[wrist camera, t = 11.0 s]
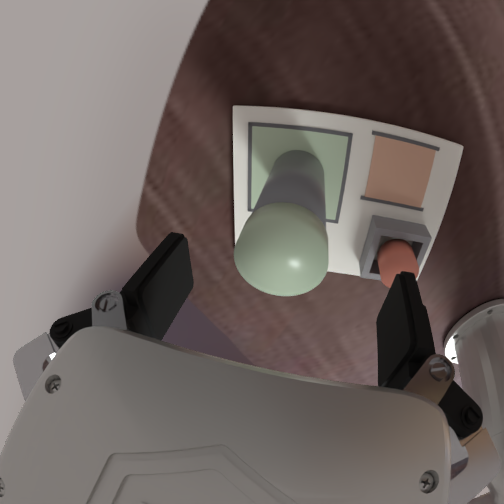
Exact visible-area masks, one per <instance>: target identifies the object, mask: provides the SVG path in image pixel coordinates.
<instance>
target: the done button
mask: <svg viewBox="0 0 504 504" xmlns="http://www.w3.org/2000/svg"><path fill="white" fill-rule="evenodd" d="M377 261H378V266H379V271H380V277H381V280H382V282H383V284H384V285H385V286H387V287H389V288H391V285H392V283H393V281H394V278H395V276H396V274H400V272H401V271H406V272H412V273H414V274H415V277H416V278H417V277H418V274H419V266H418V263H417V260H416V257H415V255H414V252H413V249H412V247H411V245H410V244H409V243H408V242H407V241H405V240H403V239H391V240H388V241H386V242H385V243H384V244H382V245H381V247H380V248H379V250H378V252H377Z"/></svg>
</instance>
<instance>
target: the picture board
mask: <svg viewBox="0 0 504 504" xmlns="http://www.w3.org/2000/svg"><path fill="white" fill-rule="evenodd" d="M463 147H464V146H462V145H460V144H457V143H454V142H451V141H448V140H445V139H442V138H439V137H436V136H433V135H429V134H426V133H423V132H419V131H415V130H412V129H408V128H404V127H400V126H396V125H392V124H387V123H383V122H378V121H374V120H369V119H364V118H358V117H353V116H347V115H341V114H334V113H327V112H320V111H312V110H303V109H292V108H280V107H265V106H239V105H235V106H233V170H234V218H235V245H236V242H237V240H238V238H239V236H240V233H241V231H242V229H243V227H244V225H245V222H246V221H247V219H248V218H249V216H250V215H251V214H252V212H253V210H254V207H255V205H256V203H257V201H258V198H259V196H260V194H261V192H262V189H263V187H264V185H265V183H266V181H267V178H268V176H269V174H270V172H271V169H272V167H273V165H274V163H275V161H276V160H277V159H278V157H280V156H281V155H282V154H284V153H286V152H288V151H292V150H302V151H306V152H308V153H311V154H312V155H314V156H315V157H316V158H317V159H318V160H319V161H320V163H321V164H322V167H323V170H324V179H325V203H326V231H327V234H328V254H329V264H328V270H327V271H330V272H337V273H344V274H350V275H357V276H360V277H362V278H369V279H375V280H381V277H380V271H379V266H378V261H377V252H378V250H379V248H380V247H381V245H382V244H384V243H385V242H386V241H388V240H391V239H403V240H405V241H407V242H408V243H409V244H410V245H411V247H412V249H413V252H414V255H415V257H416V260H417V263H418V266H419V274H418V277H419V275H420V273H421V271H422V269H423V266H424V264H425V262H426V259H427V257H428V255H429V252H430V250H431V248H432V245H433V243H434V240H435V238H436V235H437V233H438V230H439V227H440V225H441V222H442V219H443V216H444V214H445V211H446V208H447V205H448V202H449V199H450V195H451V192H452V189H453V186H454V182H455V179H456V175H457V172H458V168H459V164H460V160H461V156H462V152H463ZM418 277H417V278H416V281H417V279H418Z"/></svg>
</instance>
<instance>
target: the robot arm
mask: <svg viewBox="0 0 504 504" xmlns="http://www.w3.org/2000/svg"><path fill="white" fill-rule="evenodd" d="M193 283H194V282H193V275H192V269H191V262H190V255H189V248H188V241H187V238H185V237H184V235H183V234H180V233H173V232H171V233H170V234H169V235H168V236H167V237H166V238H165V239H164V240H163V241H162V242H161V244H160V245H159V246H158V247H157V248H156V249H155V250H154V251H153V253H152V254H151V255H150V256H149V257H148V258H147V260H146V261H145V262H144V263H143V264H142V265H141V267H140V268H139V269H138V270H137V271H136V273H135V274H134V275H133V276H132V277H131V278H130V280H129V281H128V282H127V283H126V285H125V286H124V287H123V288H122V291H121V292H120V293H118V292H116V291H112V290H110V291H105V292H102V293H100V294H99V295H97V297H96V298H95V299H94V300H93V302H92V308H90V309H87V310H84V311H81V312H78V313H75V314H71V315H68V316H66V317H63V318H60V319H58V320H57V321H55V322H54V324H53V325H52V327H51V329H50V333H49V334H47V333H46V332H45V333H43V334H42V335H40V336H39V337H37V338H36V339H34V340H32V341H31V342H29V343H28V344H26V345H24V346H23V347H21V348H20V349H19V350H18V351H17V352H16V353H15V355H14V358H13V362H14V367H15V370H16V374H17V378H18V381H19V384H20V387H21V390H22V393H23V396H24V399H25V403H24V405H23V407H22V409H21V411H20V413H19V415H18V417H17V419H16V421H15V423H14V425H13V427H12V429H11V431H10V433H9V435H8V438H7V440H6V443H5V445H4V447H3V450H2V452H1V455H0V504H504V299H497V300H493V301H490V302H487V303H485V304H482V305H480V306H479V307H477V308H475V309H473V310H472V311H470V312H469V313H467V314H466V315H465V316H464V317H463V318H461V319H460V320H459V321H458V322H457V323H456V324H455V325H454V326H453V328H452V329H451V330H450V331H449V333H448V335H447V336H446V338H445V341H444V352H445V356H446V357H445V356H444V355H440V354H436V353H435V347H434V342H433V337H432V332H431V327H430V322H429V318H428V314H427V309H426V307H425V306H424V305H423V304H422V300H421V296H420V292H419V288H418V285H417V281H416V277H415V274H414V273H412V272H406V271H401V272H400V274H396V276H395V278H394V281H393V283H392V285H391V288H390V290H389V292H388V295H387V297H386V299H385V301H384V304H383V306H382V308H381V310H380V312H379V314H378V317H377V322H376V325H377V345H378V386H369V385H361V384H354V383H346V382H339V381H332V380H325V379H319V378H312V377H306V376H301V375H295V374H290V373H285V372H280V371H275V370H270V369H265V368H260V367H256V366H251V365H247V364H243V363H239V362H234V361H230V360H226V359H222V358H219V357H215V356H211V355H208V354H204V353H200V352H197V351H193V350H190V349H187V348H183V347H180V346H176V345H173V344H170V343H167V342H164V341H161V340H162V339H163V337H164V335H165V333H166V332H167V330H168V328H169V327H170V325H171V323H172V322H173V320H174V318H175V317H176V315H177V313H178V311H179V310H180V308H181V307H182V305H183V303H184V302H185V300H186V298H187V297H188V295H189V293H190V292H191V290H192V288H193ZM452 362H454V363H458V367H459V372H460V377H461V382H462V388H463V389H462V388H461V387H460V386H459V385H458V384H457V383H456V382H455V381H453V379H454V377H455V369H454V366H453V364H452ZM486 486H487V487H488V488H489V490H490V492H488V493H486V494H484V495H481V496H479V497H477V498H474V497H475V496H476V495H477V494H478V493H480V492H481V491H482V489H484V488H485V487H486Z"/></svg>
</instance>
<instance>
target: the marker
mask: <svg viewBox="0 0 504 504" xmlns="http://www.w3.org/2000/svg"><path fill="white" fill-rule="evenodd" d="M234 260H235V264H236V267H237V269H238V271H239V272H240V274H241V275H242V277H243V278H244V279H245V280H246V281H247V282H248V283H250V284H251V285H252V286H254V287H255V288H257V289H259V290H261V291H263V292H266V293H269V294H272V295H278V296H294V295H299V294H303V293H306V292H308V291H310V290H312V289H313V288H315V287H316V286H317V285H318V284H319V283H320V282H321V281H322V280H323V278H324V277H325V275H326V273H327V270H328V264H329V254H328V234H327V231H326V203H325V179H324V170H323V167H322V164H321V163H320V161H319V160H318V159H317V158H316V157H315V156H314V155H312V154H311V153H308V152H306V151H302V150H292V151H288V152H286V153H284V154H282V155H281V156H280V157H278V159H277V160H276V161H275V163H274V165H273V167H272V169H271V172H270V174H269V176H268V178H267V181H266V183H265V185H264V187H263V189H262V192H261V194H260V196H259V198H258V201H257V203H256V205H255V207H254V210H253V212H252V214H251V215H250V216H249V218H248V219H247V221H246V222H245V225H244V227H243V229H242V231H241V233H240V236H239V238H238V240H237V242H236V245H235V249H234Z"/></svg>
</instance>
